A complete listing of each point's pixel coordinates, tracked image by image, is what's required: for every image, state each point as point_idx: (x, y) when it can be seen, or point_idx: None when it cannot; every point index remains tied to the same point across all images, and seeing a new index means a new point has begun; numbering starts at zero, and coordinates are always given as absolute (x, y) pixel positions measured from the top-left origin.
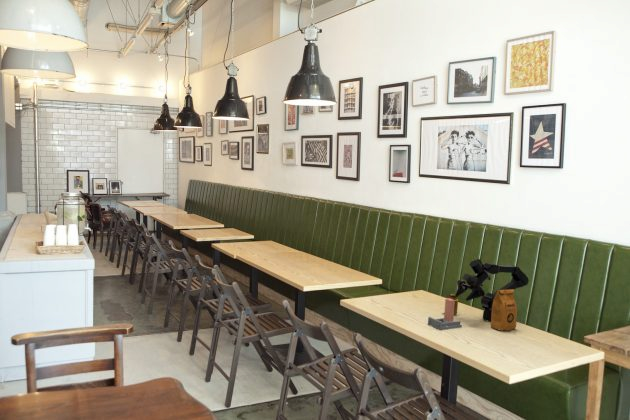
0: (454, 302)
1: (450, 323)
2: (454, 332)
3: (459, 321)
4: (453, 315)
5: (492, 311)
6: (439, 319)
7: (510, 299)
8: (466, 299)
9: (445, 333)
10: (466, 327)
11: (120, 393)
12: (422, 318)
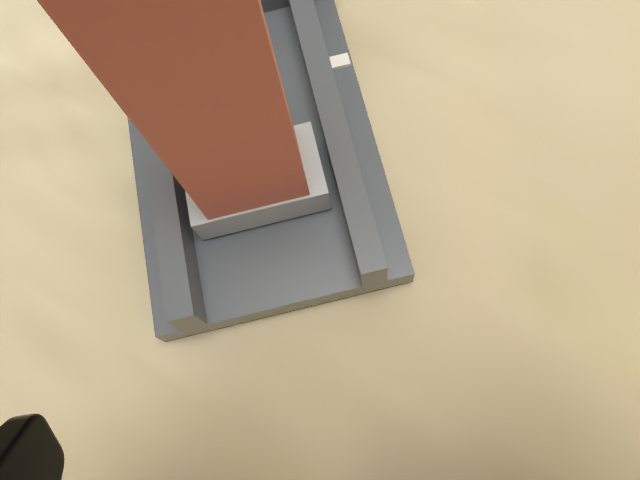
0: (71, 41)
1: (147, 151)
2: (24, 154)
3: (164, 299)
4: (181, 184)
5: None
6: (309, 77)
7: None
8: (3, 437)
9: (25, 52)
10: (149, 409)
11: None
12: (567, 24)
